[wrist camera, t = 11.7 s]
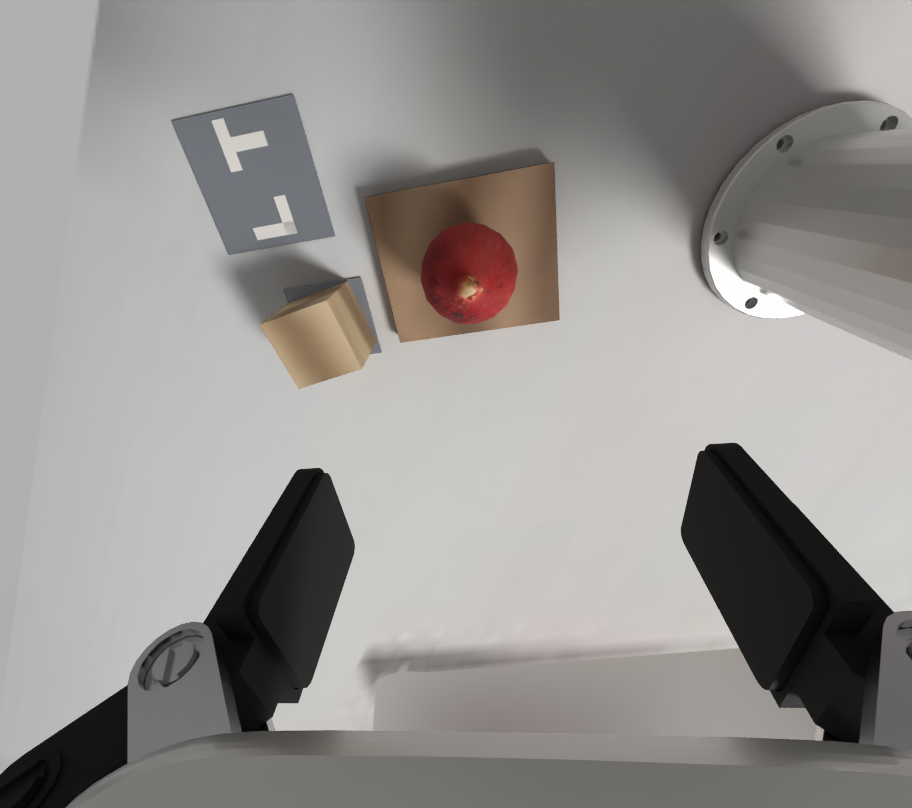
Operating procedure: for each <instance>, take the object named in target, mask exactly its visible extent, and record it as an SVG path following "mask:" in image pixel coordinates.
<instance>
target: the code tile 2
mask: <svg viewBox="0 0 912 808" xmlns="http://www.w3.org/2000/svg"><path fill="white" fill-rule="evenodd" d="M347 281H348V282H349V284H350V286H351V288H352V291H353V293H354V295H355V297H356V299H357V301H358V303H359V305H360V307H361V310H362V312H363V314H364V316H365V318H366V320H367V322H368V324H369V326H370V328H371V331H372V333H373V335H374V337H375V339H376V341H377V342H376V344H375V346H374V347H373V349H372V351H371V353H370V354H374V353H381V348H380V344H379V341H378V337H377V334H376V330H375V326H374V323H373V319H372V315H371V312H370V308H369V305H368V301H367V297H366V294H365V290H364V287H363V283H362V279H361V277H357V278H351V279H345V280H339V281H333V282H327V283H320V284H314V285H308V286H302V287H296V288H290V289H284V292H285V295H286V298H287V300H288V303H290V302H292V301H295V300H298V299H300V298H303V297H306V296H309V295H311V294H314V293H317V292H319V291H322V290H325V289H328V288H330V287H333V286H336V285H338V284H341V283H344V282H347Z"/></svg>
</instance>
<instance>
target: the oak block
mask: <svg viewBox="0 0 912 808" xmlns="http://www.w3.org/2000/svg"><path fill="white" fill-rule="evenodd" d="M260 327H261V329H262V330H263V332H264V333H265V335H266V337H267V338H268V340H269V341H270V343H271V345H272V346H273V348H274V350H275V351H276V353H277V354H278V356H279V358H280V359H281V361H282V363H283V364H284V366H285V367H286V369H287V371H288V372H289V374H290V376H291V377H292V379H293V380H294V382H295V384H296V385H297V387H298V389H300V388H303V387H306V386H309V385H312V384H315V383H319V382H322V381H325V380H328V379H331V378H334V377H338V376H341V375H344V374H347V373H350V372H353V371H356V370H360V369H362V367H363V366H364V364H365V362H366V360H367V358H368V356H369V355H370V353H371V351H372V349H373V347H374V346H375V344H376V342H377V341H376V339H375V337H374V335H373V333H372V331H371V328H370V326H369V324H368V322H367V320H366V318H365V316H364V314H363V312H362V310H361V307H360V305H359V303H358V301H357V299H356V297H355V295H354V293H353V291H352V288H351V286H350V284H349V282H348V281H347V282H344V283H341V284H338V285H336V286H333V287H330V288H328V289H325V290H322V291H319V292H317V293H314V294H311V295H309V296H306V297H303V298H300V299H298V300H295V301H292V302H290V303H288V304H287V305H285V306H284V307H283V308H281V309H280V310H279V311H277V312H276V313H275V314H273V315H272V316H270V317H269V318H268V319H266V320H265V321H264V322H262V323H261V324H260Z"/></svg>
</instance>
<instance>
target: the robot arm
mask: <svg viewBox="0 0 912 808" xmlns="http://www.w3.org/2000/svg"><path fill="white" fill-rule="evenodd" d="M778 141H779V144H778V146H777V143H778ZM716 234H717V237H716V238H715V235H716ZM714 238H715V239H714ZM701 263H702V267H703V271H704V276H705V278H706V280H707V282H708V284H709V286H710V288H711V290H712V291H713V292H714V293H715V294H716V295H717V296H718V298H719V299H720V300H721V301H723V302H724V303H726V304H727V305H729V306H730V307H732V308H733V309H735V310H737V311H739V312H741V313H743V314H746V315H750V316H754V317H758V318H768V319H781V318H789V317H796V316H800V315H803V314H808V315H810V316H812V317H814V318H817V319H819V320H821V321H824V322H826V323H828V324H830V325H833V326H835V327H837V328H839V329H842V330H844V331H846V332H849V333H851V334H853V335H855V336H858V337H860V338H862V339H864V340H867V341H869V342H871V343H873V344H876V345H878V346H880V347H883V348H885V349H887V350H889V351H892V352H894V353H896V354H898V355H901V356H903V357H905V358H908V359H910V360H912V118H911V117H909V116H908V115H907V114H906V113H905V112H904V111H902V110H900V109H898V108H896V107H893V106H891V105H889V104H887V103H881V102H875V101H868V100H863V101H851V102H842V103H837V104H832V105H827V106H822V107H819V108H817V109H814V110H811V111H809V112H806V113H804V114H801V115H798V116H796V117H795V118H793V119H791V120H790V121H788V122H786V123H784V124H783V125H781V126H779V127H777V128H776V129H774V130H773V131H772V132H771V133H769V134H768V135H767V136H766V137H764V138H763V139H762V140H760V141H759V142H758V143H757V144H755V145H754V146H753V147H752V148H751V149H750V151H749V152H748V153H747V154H746V155H745V156H744V157H743V158H742V159H741V160H740V161H739V162H738V163H737V164H736V166H735V167H734V168H733V170H732V171H731V172H730V174H729V175H728V176H727V178H726V179H725V181H724V182H723V183H722V185H721V187H720V189H719V191H718V193H717V194H716V196H715V198H714V200H713V202H712V204H711V207H710V209H709V212H708V215H707V218H706V220H705V223H704V228H703V234H702V239H701ZM681 536H682V540H683V542H684V545H685V546H686V548H687V550H688V552H689V554H690V556H691V558H692V560H693V561H694V563H695V565H696V567H697V569H698V571H699V573H700V575H701V577H702V578H703V580H704V582H705V584H706V586H707V588H708V590H709V592H710V593H711V595H712V597H713V599H714V601H715V603H716V605H717V607H718V609H719V610H720V612H721V614H722V616H723V618H724V620H725V622H726V624H727V626H728V627H729V629H730V631H731V633H732V635H733V637H734V639H735V641H736V642H737V644H738V646H739V648H740V650H741V652H742V654H743V655H744V657H745V659H746V661H747V663H748V665H749V667H750V669H751V671H752V672H753V674H754V676H755V678H756V680H757V682H758V683H759V684H760V686H761V687H762V688H764V689H765V690H770V692H771V693H772V695H773V697H774V699H775V701H776V702H777V704H778V706H779V708H782V707H783V708H806V709H807V711H808V712H809V714H810V716H811V718H812V719H813V721H814V723H815V724H816V725H817V728H816V733H815V739H814V740H790V739H766V738H741V737H698V736H697V737H696V736H653V735H651V736H650V735H607V734H549V733H491V732H422V731H336V730H323V731H275V728H274V725H273V721H272V717H273V714H274V712H275V709H276V706H277V704H278V703H298V702H299V699H300V696H301V693H302V690H303V688H307V687H308V686H309V685H310V683H311V681H312V678H313V675H314V672H315V669H316V666H317V663H318V660H319V657H320V654H321V651H322V648H323V645H324V642H325V639H326V636H327V633H328V630H329V627H330V624H331V621H332V618H333V615H334V612H335V609H336V606H337V603H338V600H339V597H340V594H341V591H342V588H343V585H344V582H345V579H346V576H347V573H348V570H349V567H350V564H351V561H352V558H353V555H354V550H355V545H354V540H353V537H352V534H351V531H350V529H349V526H348V523H347V520H346V518H345V515H344V512H343V510H342V507H341V504H340V501H339V499H338V496H337V493H336V491H335V488H334V485H333V482H332V480H331V477H330V475H329V474H328V473H324V472H323V470H322V469H321V468H312V469H299V470H297V471H296V472H295V474H294V476H293V477H292V479H291V480H290V482H289V484H288V485H287V487H286V489H285V490H284V492H283V494H282V495H281V497H280V498H279V500H278V502H277V503H276V505H275V507H274V508H273V510H272V512H271V513H270V515H269V516H268V518H267V520H266V521H265V523H264V525H263V526H262V528H261V529H260V531H259V533H258V534H257V536H256V538H255V539H254V541H253V543H252V544H251V546H250V547H249V549H248V551H247V552H246V554H245V556H244V557H243V559H242V561H241V562H240V564H239V565H238V567H237V569H236V570H235V572H234V574H233V575H232V577H231V579H230V580H229V582H228V583H227V585H226V587H225V588H224V590H223V592H222V593H221V595H220V597H219V598H218V600H217V601H216V603H215V605H214V606H213V608H212V610H211V611H210V613H209V615H208V616H207V618H206V619H205V621H204V623H199V622H190V623H185V624H181V625H179V626H177V627H175V628H173V629H170V630H168V631H167V632H166V633H164V634H163V635H161V636H160V637H158V638H157V639H156V640H155V641H154V642H153V643H152V644H150V645H149V646H148V647H147V648H146V649H145V650H144V652H143V653H142V654H141V656H140V657H139V658H138V660H137V661H136V663H135V665H134V667H133V669H132V671H131V673H130V676H129V681H128V685H127V686H126V687H124V688H123V689H121V690H120V691H118V692H117V693H115V694H114V695H112V696H111V697H109V698H108V699H106V700H105V701H103V702H102V703H100V704H99V705H97V706H96V707H94V708H93V709H91V710H90V711H88V712H87V713H85V714H84V715H82V716H81V717H79V718H78V719H76V720H75V721H73V722H72V723H70V724H69V725H67V726H66V727H64V728H63V729H61V730H60V731H58V732H57V733H55V734H54V735H53V736H51V737H50V738H48V739H47V740H45V741H44V742H42V743H41V744H39V745H38V746H36V747H35V748H33V749H32V750H30V751H29V752H27V753H26V754H24V755H23V756H22V757H20V758H19V759H18V760H16V761H15V762H14V763H13V764H11V765H10V766H9V767H8V768H7V769H6V770H5V771H4V772H3V773H2V774H1V775H0V808H912V611H901V612H895V613H894V612H893V611H892V610H891V609H890V608H889V606H888V605H887V604H886V603H885V602H884V601H883V600H882V599H881V598H880V597H879V596H878V595H877V593H876V592H875V591H874V590H873V589H872V588H871V587H870V586H869V585H868V584H867V583H866V581H865V580H864V579H863V578H862V577H861V576H860V575H859V574H858V573H857V572H856V571H855V569H854V568H853V567H852V566H851V565H850V564H849V563H848V562H847V561H846V560H845V559H844V558H843V556H842V555H841V554H840V553H839V552H838V551H837V550H836V549H835V548H834V547H833V546H832V544H831V543H830V542H829V541H828V540H827V539H826V538H825V537H824V536H823V535H822V534H821V532H820V531H819V530H818V529H817V528H816V527H815V526H814V525H813V524H812V523H811V522H810V520H809V519H808V518H807V517H806V516H805V515H804V514H803V513H802V512H801V511H800V510H799V509H798V507H797V506H796V505H795V504H794V503H792V502H791V501H790V499H789V498H788V497H787V496H786V495H785V494H784V493H783V492H782V491H781V490H780V489H779V487H778V486H777V485H776V484H775V483H774V482H773V481H772V480H771V479H770V478H769V477H768V475H767V474H766V473H765V472H764V471H763V470H762V469H761V468H760V467H759V466H758V465H757V463H756V462H755V461H754V460H753V459H752V458H751V457H750V456H749V455H748V454H747V453H746V451H745V450H744V449H743V448H742V447H741V446H740V445H739V444H737V443H724V444H710V445H708V446H707V447H706V448H705V451H700V452H699V454H698V456H697V461H696V465H695V470H694V474H693V478H692V483H691V487H690V491H689V496H688V500H687V504H686V509H685V513H684V517H683V522H682V526H681Z"/></svg>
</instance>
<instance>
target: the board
mask: <svg viewBox="0 0 912 808" xmlns="http://www.w3.org/2000/svg"><path fill="white" fill-rule="evenodd" d="M364 199H365V203H366V207H367V211H368V215H369V219H370V223H371V227H372V231H373V235H374V239H375V243H376V247H377V251H378V255H379V259H380V263H381V267H382V271H383V275H384V279H385V283H386V287H387V291H388V295H389V300H390V304H391V308H392V312H393V316H394V320H395V324H396V328H397V332H398V336H399V340H400V343H402V342H409V341H416V340H423V339H430V338H437V337H444V336H451V335H458V334H465V333H472V332H479V331H486V330H493V329H500V328H507V327H514V326H521V325H528V324H535V323H542V322H549V321H556V320H559V291H558V261H557V232H556V202H555V173H554V162H552V163H546V164H540V165H535V166H530V167H524V168H519V169H514V170H508V171H503V172H497V173H492V174H487V175H481V176H476V177H471V178H465V179H460V180H455V181H449V182H444V183H439V184H433V185H428V186H422V187H417V188H412V189H406V190H401V191H396V192H390V193H385V194H380V195H374V196H369V197H365V198H364ZM463 222H467V223H476V224H484V225H486V226H487V227H489V228H491V229H493V230H495V231H496V232H498V233H500V234H501V235H502V236H503V237H504V238H505V240H506V241H507V242H508V243H509V245H510V246H511V247H512V248H513V251H514V255H515V258H516V262H517V266H518V274H517V280H516V286H515V290H514V292H513V294H512V296H511V298H510V300H509V302H508V304H507V305H506V307H504V308H503V309H502V310H501V311H500V312H499V313H498V314H497V315H495V316H494V317H493V318H490V319H488V320H485V321H483V322H480V323H477V324H457V323H455V322H453V321H451V320H449V319H447V318H445V317H443V316H441V315H439V314H438V313H437V312H436V310H435V309H434V308H433V307H432V306H431V304H430V303H429V302H428V301H427V300H426V297H425V293H424V290H423V287H422V284H421V270H422V260H423V257H424V255H425V253H426V251H427V248H428V246H429V244H430V242H431V241H432V240H433V239H434V238H435V237H436V236H437V235H438V234H439V233H440V232H441V231H442V230H443V229H444V228H447V227H450V226H454V225H457V224H460V223H463Z"/></svg>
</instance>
